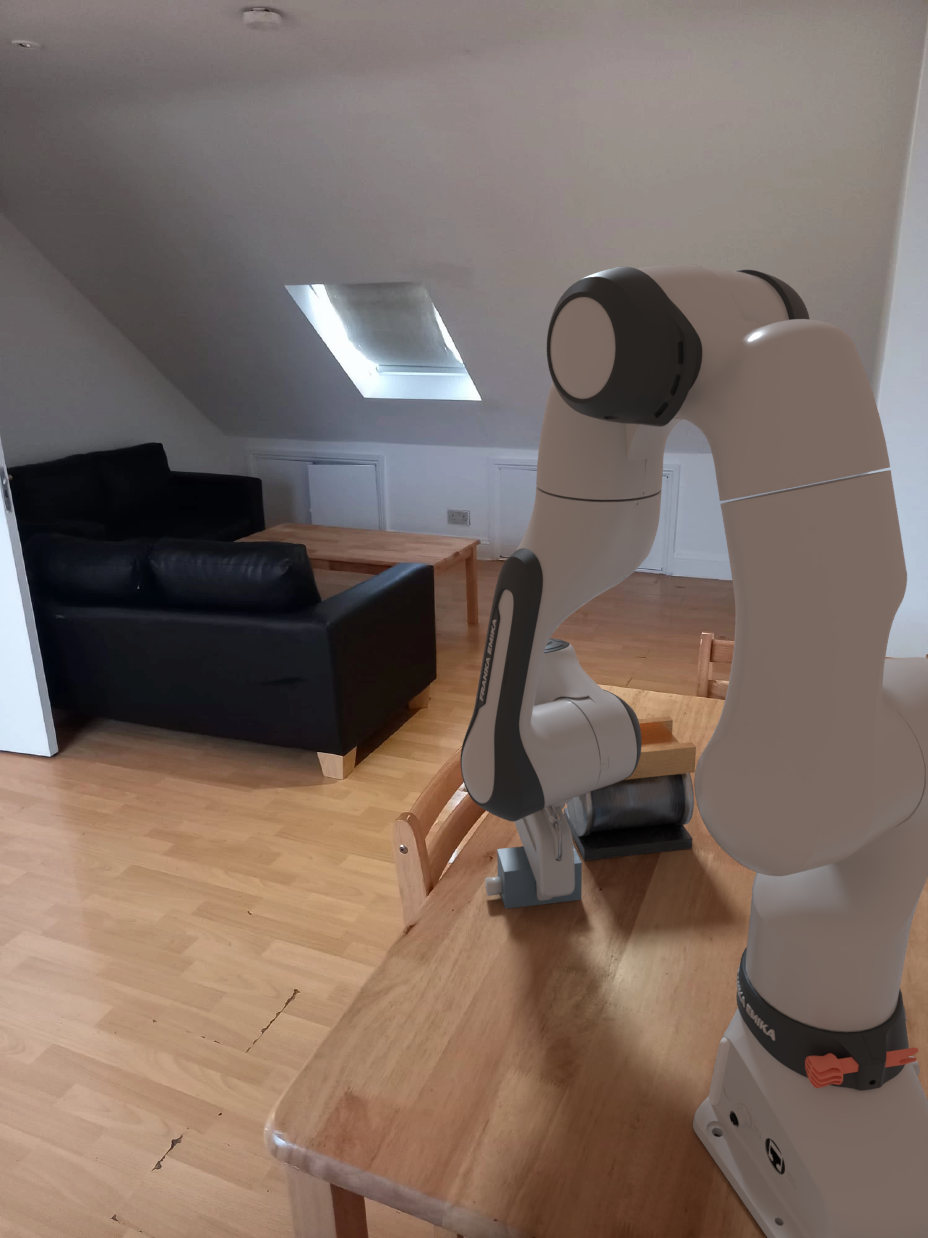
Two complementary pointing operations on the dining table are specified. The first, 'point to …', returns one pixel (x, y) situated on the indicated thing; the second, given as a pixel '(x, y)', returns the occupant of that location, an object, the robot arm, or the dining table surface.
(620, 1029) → the dining table surface
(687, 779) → the wood-topped grey cylinder
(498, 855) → the blue-grey rectangular block
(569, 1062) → the dining table surface
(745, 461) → the robot arm
